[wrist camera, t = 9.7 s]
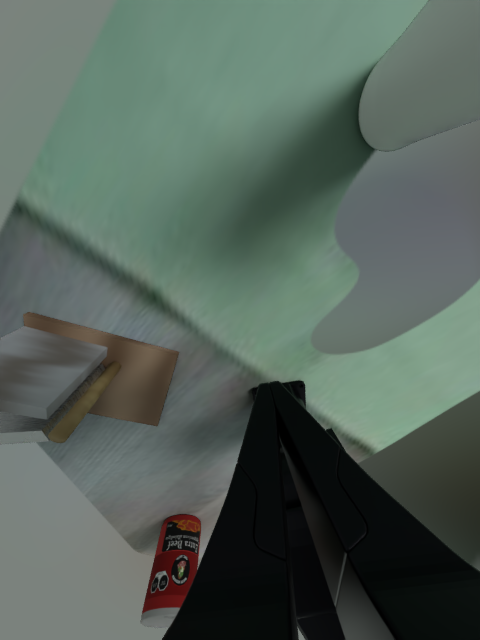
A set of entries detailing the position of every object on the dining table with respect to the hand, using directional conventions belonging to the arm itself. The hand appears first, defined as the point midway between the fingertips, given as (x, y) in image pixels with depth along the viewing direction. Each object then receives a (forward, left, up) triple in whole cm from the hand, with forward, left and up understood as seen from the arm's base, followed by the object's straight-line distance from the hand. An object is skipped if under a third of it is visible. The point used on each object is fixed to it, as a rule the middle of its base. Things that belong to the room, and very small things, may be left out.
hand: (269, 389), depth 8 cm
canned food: (-45, +20, -12) cm, 51 cm away
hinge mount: (-7, +18, -12) cm, 22 cm away
